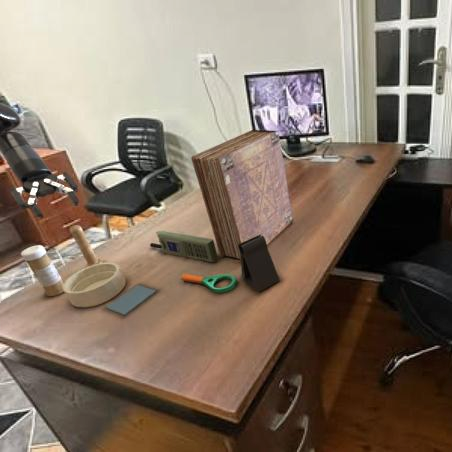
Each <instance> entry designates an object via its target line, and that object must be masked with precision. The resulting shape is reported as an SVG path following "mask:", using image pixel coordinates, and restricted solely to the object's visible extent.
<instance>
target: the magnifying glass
mask: <svg viewBox="0 0 452 452" xmlns="http://www.w3.org/2000/svg"><path fill="white" fill-rule="evenodd" d="M227 279H228V280H230V281H231V282H230V283H229V284H228V285H227V286H224V287H220V288H218V287H215V286H214V285H215V284H216V283H217V282H219V281H221V280H227ZM181 280H182V281H185V282H190V283H196V284H201V285H204V286H206V288H208V289H209V290H210V291H212V292H213V293H215V294H223V293H227V292H230V291H232V290H233V289H235V287H236V286H237V281H236V280H237V279H236V277H235V276H234V275H232V274H228V273H224V274H216V275H210V276H201V275H196V274H189V273H184V274H183V275H182V276H181Z"/></svg>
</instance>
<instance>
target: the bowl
mask: <svg viewBox="0 0 452 452" xmlns="http://www.w3.org/2000/svg"><path fill="white" fill-rule="evenodd" d="M126 281H127V279H126V277H125V275H124V272H123V271H122V268H121V267H120V265H119V264H118V263H116V262H110V261H107V262H102V263H99V264H95V265H92V266H89V267H87V268H86V267H85V268H83V269H80V270H79V271H77V272H74V274H72V275H70V277H68V278H67V279H66V280H65V281H64V285H63V290H64V291H63V292H64V294H65V295H66V297H67V298H68V300H69V302H70V303H71V305H72V306H73V307H76V308H92V307H96V306H99V305H102V304H104V303H106V302H108V301H110V300H112V299H113V298H115V297H116V296H117V295H119V294H120V293H121V292H122V291H123V289H124V287H125V286H126V284H127V282H126Z"/></svg>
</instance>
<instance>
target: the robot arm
mask: <svg viewBox="0 0 452 452" xmlns="http://www.w3.org/2000/svg"><path fill="white" fill-rule="evenodd" d="M21 123H22V120H21V116H20V115H19V114H18V112H17V111H15V110H14V109H13V107H11V106H8V105H7V104H4V103H1V102H0V153H1V155H2V156H3V158H4V159H5V162H6V163H7V165H8V167H9V168H10V170H11V172H12V173H13V174H14V175H15V177H16V178H17V179H18V181H19V182H20V183H21V186H19V187H14V186H12V187H10V188H9V191H10V193H11V195H12V196H13V199H14V200H15V202H16V203H17V205H18V207H19V209H20V210H22V211H23V210H26V209H30V210H31V212H32V213H33V214H34V216H35V217H36V218H40V219H44V218H45V216H44V214H43V212H42V210H41V209H40V208H39V206H38V205H37V202H39V198H45V197H47V196H51V195H54V194H55V193H58V194H62V195H66V196H68V198H69V200H70V201H71V202H72V204H73V205H74V207H78V206H79V203H80V201H79V198H78V196H77V195H76V193H78V192H79V185H78V184H77V183H76V181H74V179H73V178H72V177H71V176H70V174H69V173H68V172H67V171H64V172H62V174H60V175H58V176H56V175H55V174H54V173H53V172H52V171H51V169H50V168H49V167H48V165H47V164H46V162H45V161H44V160H43V158H42V157H41V156H40V154H39V153H38V152H37V151H36V150H35V149H34V147H33V146H32V144H31V143H30V142H29V140H28V139H27V138H26V136H25V135H24V134H22V133H21V132H18V131H13V130H15V129H17V128H18V127H19V126H20V125H21ZM60 181H61V182H63V183H66V184H67V185H68V186H69V187H68V186H65V185H64V184H62V183H60ZM23 192H25V193H27V194H29V198H28V201H24V200H23V199H22V196H23V195H24V194H23Z"/></svg>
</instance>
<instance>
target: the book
mask: <svg viewBox="0 0 452 452" xmlns="http://www.w3.org/2000/svg"><path fill="white" fill-rule="evenodd" d="M191 162H192V166H193V169H194V173H195V176H196V179H197V183H198V186H199V189H200V193H201V196H202V199H203V202H204V207H205V209H206V213H207V215H208V219H209V223H210V226H211V228H212V232H213V235H214V239H215V243H216V246H217V250H218V252H219V256H220V258H224V257H225V256H226V257H230V258H235V259H238V260H241V258H240V251H239V248H238V244H240V243H243V242H245V241H247V240H249V239H251V238H253V237H256V236H258V235H260V234H261V236H264V238H265V240H266V245H267V246H268V245H269V243H271V241H273V240H274V239H275V238H276V237H278V236H279V234H281V232H283V231H284V230H285V229H286V228H287V227H288V226H289V225H290V224H292V223H293V222H294V216H293V210H292V204H291V198H290V192H289V188H288V186H289V185H288V182H287V174H286V169H285V163H284V162H285V161H284V157H283V152H282V145H281V139H280V134H279V130H264V129H251V130H249V131H247V132H244V133H242V134H240V135H237V136H235V137H233V138H230V139H228V140H226V141H223V142H221V143H219V144H217V145H214V146H212V147H209V148H208V149H204V151H200V152H199V153H196V154H193V155H192V156H191ZM261 236H260V237H261Z"/></svg>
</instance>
